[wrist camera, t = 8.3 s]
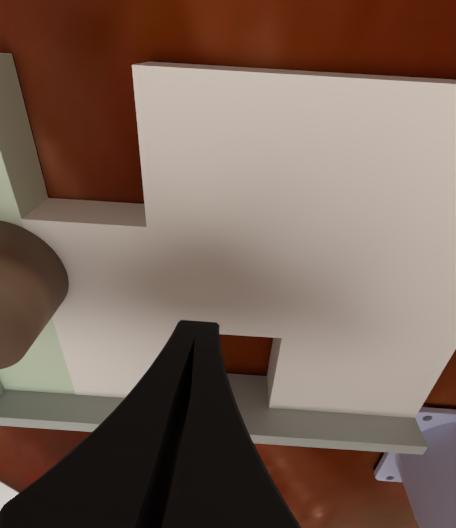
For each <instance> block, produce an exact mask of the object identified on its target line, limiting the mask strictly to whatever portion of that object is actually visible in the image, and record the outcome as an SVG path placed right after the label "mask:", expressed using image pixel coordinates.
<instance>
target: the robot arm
mask: <svg viewBox="0 0 456 528" xmlns="http://www.w3.org/2000/svg"><path fill="white" fill-rule="evenodd" d="M219 326H220V325H219V324H218V323H217V322H203V321H190V320H180V321H179V322H178V323H177V325H176V327H175V329H174V331H173V333H172V335H171V336H170V338H169V340H168V341H167V343H166V344H165V346H164V347H163V349H162V351H161V352H160V353H159V355H158V356H157V358H156V359H155V361H154V362H153V363H152V365H151V366H150V368H149V369H148V370H147V372H146V373H145V374H144V375H143V377H142V378H141V379H140V380H139V382H138V383H137V384H136V386H135V387H134V388H133V389H132V390H131V392H130V393H129V394H128V395H127V396H126V397H125V399H124V400H123V401H122V402H121V403H120V404H119V405H118V406H117V407H116V408H115V410H114V411H113V412H112V413H111V414H110V415H109V416H108V417H107V418H106V419H105V420H104V421H103V422H102V423H101V424H100V425H99V426H98V427H97V428H96V429H95V430H94V431H93V432H92V433H91V434H90V435H89V436H88V437H87V438H85V439H84V440H83V441H82V442H81V443H80V444H79V445H78V446H76V447H75V448H74V449H73V450H72V451H71V452H70V453H68V454H67V455H66V456H65V457H64V458H63V459H62V460H60V461H59V462H58V463H57V464H56V465H55V466H53V467H52V468H51V469H50V470H49V471H47V472H46V473H45V474H44V475H42V476H41V477H40V478H38V479H37V480H36V481H35V482H33V483H32V484H31V485H29V486H28V487H27V488H26V489H24V490H23V491H22V492H20V493H19V494H18V495H16V496H15V497H14V498H13V499H11V500H10V501H9V502H7V503H6V504H5V505H4V506H3V508H2V509H1V511H0V528H301V527H300V525H299V524H298V522H297V520H296V519H295V517H294V516H293V514H292V512H291V511H290V509H289V508H288V506H287V504H286V503H285V501H284V499H283V498H282V496H281V494H280V493H279V491H278V489H277V487H276V485H275V484H274V482H273V480H272V478H271V477H270V475H269V473H268V471H267V469H266V467H265V465H264V463H263V461H262V459H261V457H260V455H259V453H258V451H257V449H256V447H255V445H254V443H253V441H252V439H251V437H250V435H249V432H248V430H247V428H246V426H245V423H244V421H243V419H242V416H241V414H240V411H239V409H238V406H237V403H236V400H235V398H234V395H233V392H232V389H231V386H230V382H229V379H228V376H227V372H226V368H225V364H224V360H223V356H222V351H221V345H220V336H219ZM415 419H416V421H417V424H418V426H419V428H420V430H421V432H422V435H423V437H424V439H425V441H426V444H427V446H428V448H427V449H426V451H425V452H424V454H423V455H418V454H403V453H389V452H385V453H384V455H383V457H382V458H381V460H380V462H379V464H378V465H377V467H376V469H375V471H374V476H375V478H376V479H377V480H380V481H392V482H403V485H404V488H405V491H406V494H407V496H408V499H409V502H410V505H411V508H412V510H413V513H414V516H415V519H416V522H417V524H418V527H419V528H456V409H443V408H428V407H421V409H420V410H419V412H418V414H417V415H416V417H415Z"/></svg>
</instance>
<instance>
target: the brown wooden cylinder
mask: <svg viewBox="0 0 456 528" xmlns="http://www.w3.org/2000/svg"><path fill="white" fill-rule="evenodd" d="M68 287H69V281H68V275H67V272H66V269H65V267H64V265H63V263H62V261H61V259H60V258H59V257H58V255H57V254H56V253H55V251H54V250H53V249H52V248H51V247H50V246H49V245H48V244H47V243H46V242H45V241H43V240H42V239H41V238H39V237H38V236H36V235H35V234H33V233H32V232H30V231H28V230H26V229H24V228H23V227H20V226H18V225H15V224H12V223H9V222H5V221H0V369H4V368H7V367H10V366H12V365H14V364H16V363H18V362H19V361H20V360H21V359H22V358H23V357H24V355H25V354H26V353H27V351H28V350H29V348H30V347H31V346H32V344H33V343H34V341H35V340H36V339H37V337H38V336H39V334H40V333H41V332H42V330H43V329H44V327H45V326H46V325H47V323H48V322H49V320H50V319H51V318H52V316H53V315H54V313H55V312H56V311H57V309H58V308H59V306H60V305H61V304H62V302H63V301H64V299H65V297H66V296H67V292H68Z"/></svg>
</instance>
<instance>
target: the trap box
mask: <svg viewBox="0 0 456 528" xmlns="http://www.w3.org/2000/svg"><path fill="white" fill-rule="evenodd" d="M132 73H133V84H134V95H135V106H136V117H137V128H138V139H139V150H140V160H141V171H142V182H143V193H144V204H138V203H122V202H106V201H91V200H75V199H59V198H48V195H47V191H46V187H45V183H44V179H43V175H42V171H41V167H40V163H39V159H38V155H37V151H36V147H35V143H34V139H33V135H32V131H31V128H30V124H29V120H28V116H27V112H26V108H25V104H24V100H23V96H22V92H21V88H20V84H19V80H18V76H17V72H16V68H15V64H14V61H13V57H12V53H0V221H5V222H9V223H12V224H15V225H18V226H20V227H23V228H24V229H26V230H28V231H30V232H32V233H33V234H35V235H36V236H38V237H39V238H41V239H42V240H43V241H45V242H46V243H47V244H48V245H49V246H50V247H51V248H52V249H53V250H54V251H55V253H56V254H57V255H58V257H59V258H60V259H61V261H62V263H63V265H64V267H65V269H66V272H67V275H68V281H69V287H68V292H67V296H66V297H65V299H64V301H63V302H62V304H61V305H60V306H59V308H58V309H57V311H56V312H55V313H54V315H53V316H52V318H51V319H50V320H49V322H48V323H47V325H46V326H45V327H44V329H43V330H42V332H41V333H40V334H39V336H38V337H37V339H36V340H35V341H34V343H33V344H32V346H31V347H30V348H29V350H28V351H27V353H26V354H25V355H24V357H23V358H22V359H21V360H20V361H19V362H18V363H16V364H14V365H12V366H10V367H7V368H4V369H0V425H1V426H15V427H30V428H44V429H58V430H73V431H87V432H93V431H94V430H95V429H96V428H97V427H98V426H99V425H100V424H101V423H102V422H103V421H104V420H105V419H106V418H107V417H108V416H109V415H110V414H111V413H112V412H113V411H114V410H115V408H116V407H117V406H118V405H119V404H120V403H121V402H122V401H123V400H124V399H125V397H126V396H127V395H128V394H129V393H130V392H131V390H132V389H133V388H134V387H135V386H136V384H137V383H138V382H139V380H140V379H141V378H142V377H143V375H144V374H145V373H146V372H147V370H148V369H149V368H150V366H151V365H152V363H153V362H154V361H155V359H156V358H157V356H158V355H159V353H160V352H161V351H162V349H163V347H164V346H165V344H166V343H167V341H168V340H169V338H170V336H171V335H172V333H173V331H174V329H175V327H176V325H177V323H178V322H179V321H180V320H190V321H203V322H217V323H218V324H219V325H220V326H219V334H226V335H241V336H256V337H271V338H273V342H272V348H271V354H270V360H269V366H268V372H267V376H258V375H244V374H229V373H227V376H228V379H229V382H230V386H231V389H232V392H233V395H234V398H235V400H236V403H237V406H238V409H239V411H240V414H241V416H242V419H243V421H244V423H245V426H246V428H247V430H248V432H249V435H250V437H251V439H252V441H253V443H260V444H274V445H288V446H303V447H317V448H332V449H346V450H360V451H375V452H389V453H403V454H418V455H423V454H424V452H425V451H426V449H427V448H428V446H427V444H426V441H425V439H424V437H423V435H422V432H421V430H420V428H419V426H418V424H417V421H416V419H415V417H416V415H417V414H418V412H419V410H420V409H421V407H422V405H423V403H424V402H425V400H426V398H427V397H428V395H429V393H430V392H431V390H432V388H433V387H434V385H435V383H436V381H437V380H438V378H439V376H440V375H441V373H442V371H443V370H444V368H445V366H446V365H447V363H448V361H449V359H450V358H451V356H452V354H453V353H454V351H455V349H456V80H453V79H436V78H419V77H402V76H385V75H368V74H352V73H335V72H318V71H301V70H284V69H267V68H250V67H233V66H216V65H199V64H182V63H166V62H144V63H139V64H134V65H132Z"/></svg>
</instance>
